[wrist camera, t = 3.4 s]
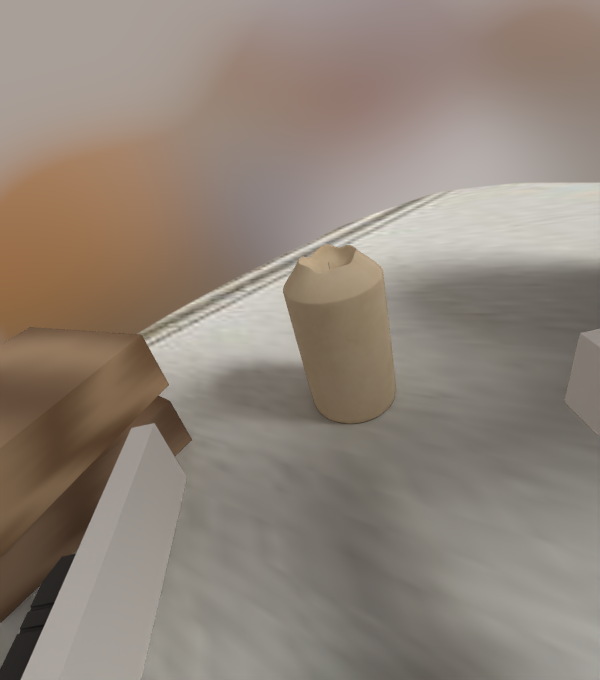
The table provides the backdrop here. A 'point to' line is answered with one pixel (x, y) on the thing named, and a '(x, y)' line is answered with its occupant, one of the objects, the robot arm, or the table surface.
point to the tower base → (74, 512)
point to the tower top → (64, 412)
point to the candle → (343, 332)
